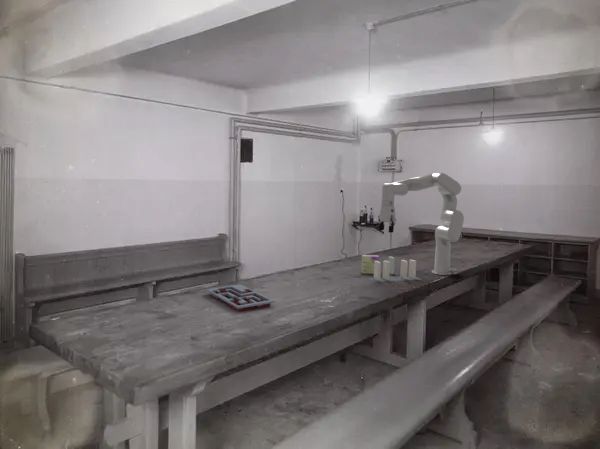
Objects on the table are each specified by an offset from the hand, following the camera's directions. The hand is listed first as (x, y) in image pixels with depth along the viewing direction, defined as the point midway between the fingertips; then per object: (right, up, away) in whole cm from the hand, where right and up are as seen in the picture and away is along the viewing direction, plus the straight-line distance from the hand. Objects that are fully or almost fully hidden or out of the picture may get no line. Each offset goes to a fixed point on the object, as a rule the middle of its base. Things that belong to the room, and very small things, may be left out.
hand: (386, 231), depth 284 cm
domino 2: (-1, -29, -4) cm, 29 cm away
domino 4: (+10, -29, -1) cm, 31 cm away
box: (-8, -28, +12) cm, 31 cm away
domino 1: (-7, -29, -6) cm, 30 cm away
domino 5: (+16, -29, +1) cm, 33 cm away
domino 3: (+5, -28, +12) cm, 31 cm away
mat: (+5, -30, -2) cm, 30 cm away
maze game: (-83, -34, -54) cm, 105 cm away
